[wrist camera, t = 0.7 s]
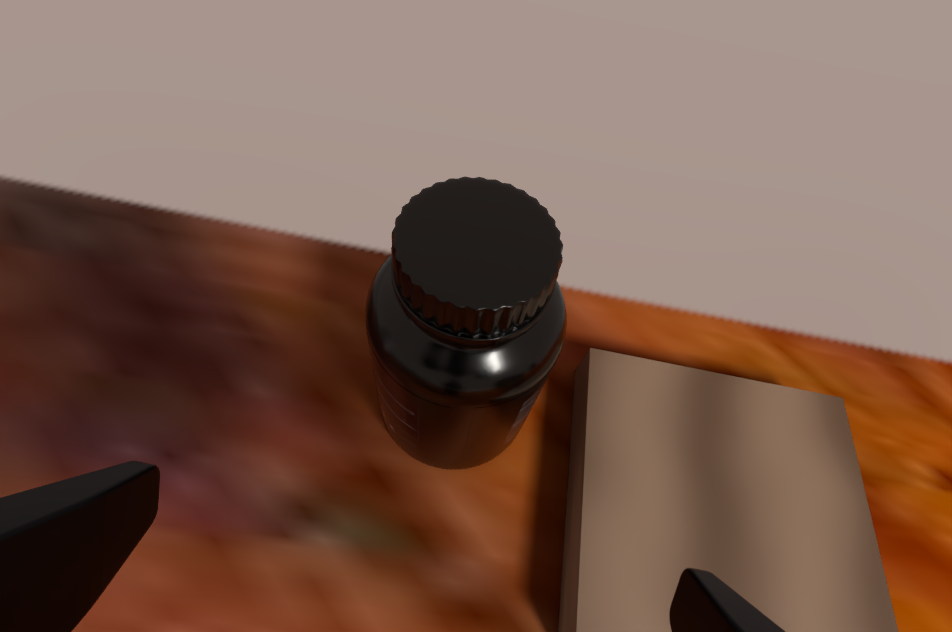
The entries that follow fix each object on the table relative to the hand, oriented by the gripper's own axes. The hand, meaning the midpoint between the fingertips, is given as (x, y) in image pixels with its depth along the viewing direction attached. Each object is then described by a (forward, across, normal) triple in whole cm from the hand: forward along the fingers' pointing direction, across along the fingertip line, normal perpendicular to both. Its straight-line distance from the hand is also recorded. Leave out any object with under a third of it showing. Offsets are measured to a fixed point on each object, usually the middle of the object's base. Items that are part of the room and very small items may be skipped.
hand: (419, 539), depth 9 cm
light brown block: (+13, -12, +6) cm, 18 cm away
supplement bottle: (+15, 0, +4) cm, 16 cm away
